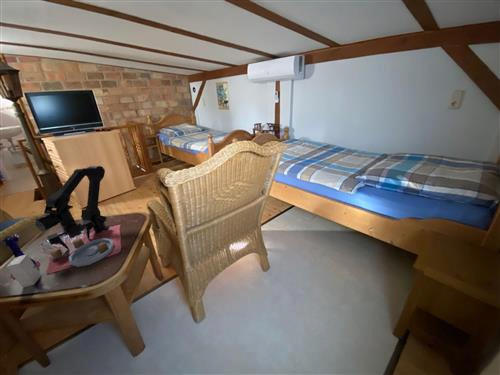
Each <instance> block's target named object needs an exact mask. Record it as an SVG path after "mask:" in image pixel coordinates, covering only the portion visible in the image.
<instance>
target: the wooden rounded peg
mask: <svg viewBox="0 0 500 375" xmlns="http://www.w3.org/2000/svg"><path fill="white" fill-rule="evenodd" d="M97 248H98V250H99V252H100V253H104V252H105V251H106V250H108V245H107V243H106V242H102V243H100V244H98V245H97Z"/></svg>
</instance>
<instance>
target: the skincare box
mask: <svg viewBox="0 0 500 375" xmlns="http://www.w3.org/2000/svg"><path fill="white" fill-rule="evenodd" d="M6 268H7V270H8V271H9V272H10V273H11V275H12V276H13V277H14V279H16V281H17V282H18V284H19V285H20V287H22V288H27V287H31V286H34V285H36V283H37V282H38V280H39V279H40V278H41V276H42V273H41V272H40V271H39V269H38V267H37V266H36V265H35V263H34V262H33V261H32V259H31V258H30V256H29V255H28V254H23V255H20V256H16V257H14V259H12V260H11V261H10V262H9V263H8V265H6Z"/></svg>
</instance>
